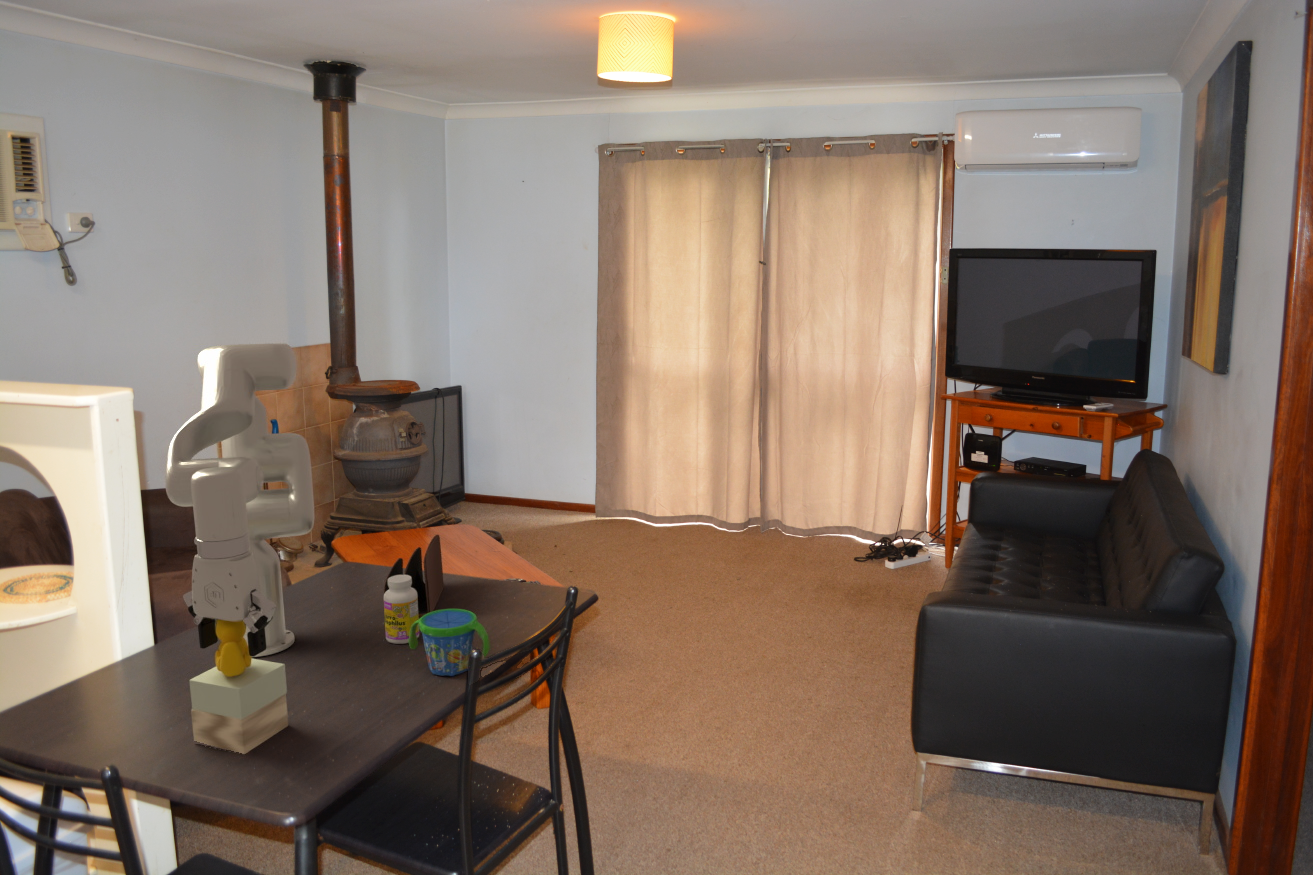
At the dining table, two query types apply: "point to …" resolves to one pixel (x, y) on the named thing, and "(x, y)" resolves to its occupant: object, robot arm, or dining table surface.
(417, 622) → the snack cup
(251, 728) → the tower base
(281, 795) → the dining table surface
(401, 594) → the supplement bottle
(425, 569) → the letter holder
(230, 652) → the duckling
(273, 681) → the tower top
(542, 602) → the dining table surface
